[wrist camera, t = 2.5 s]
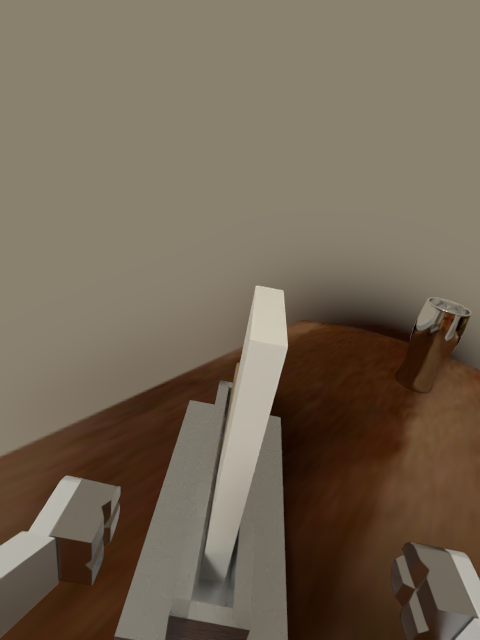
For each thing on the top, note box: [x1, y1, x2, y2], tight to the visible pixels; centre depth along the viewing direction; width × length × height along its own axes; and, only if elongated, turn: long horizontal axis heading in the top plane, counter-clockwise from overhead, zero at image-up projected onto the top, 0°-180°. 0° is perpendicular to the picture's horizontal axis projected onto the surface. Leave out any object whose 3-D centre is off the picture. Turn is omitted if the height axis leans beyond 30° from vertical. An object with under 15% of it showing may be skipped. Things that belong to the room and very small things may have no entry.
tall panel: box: [199, 286, 288, 582], centre depth 27 cm, size 2×8×22 cm, turn 175°
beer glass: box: [395, 297, 472, 393], centre depth 60 cm, size 7×7×15 cm
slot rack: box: [115, 380, 288, 640], centre depth 35 cm, size 12×25×6 cm, turn 175°
